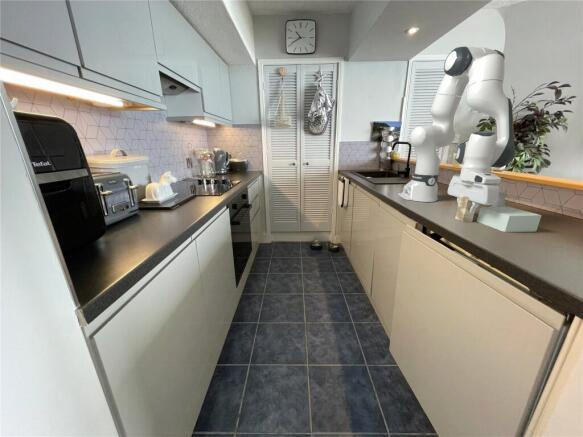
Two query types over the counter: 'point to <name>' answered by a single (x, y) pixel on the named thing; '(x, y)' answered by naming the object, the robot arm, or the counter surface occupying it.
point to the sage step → (509, 219)
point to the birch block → (464, 210)
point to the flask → (500, 200)
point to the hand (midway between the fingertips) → (465, 210)
